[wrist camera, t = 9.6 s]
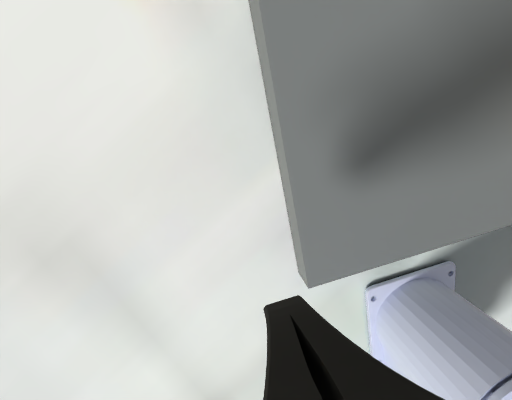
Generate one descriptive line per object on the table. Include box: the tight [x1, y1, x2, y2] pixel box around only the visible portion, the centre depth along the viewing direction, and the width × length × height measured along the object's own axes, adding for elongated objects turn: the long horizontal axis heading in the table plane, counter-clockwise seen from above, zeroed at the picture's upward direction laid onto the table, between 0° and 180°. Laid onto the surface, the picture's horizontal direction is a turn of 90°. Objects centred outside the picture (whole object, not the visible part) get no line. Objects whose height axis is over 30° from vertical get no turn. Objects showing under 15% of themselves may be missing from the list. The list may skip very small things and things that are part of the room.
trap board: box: [249, 0, 512, 289], centre depth 18 cm, size 18×26×4 cm
